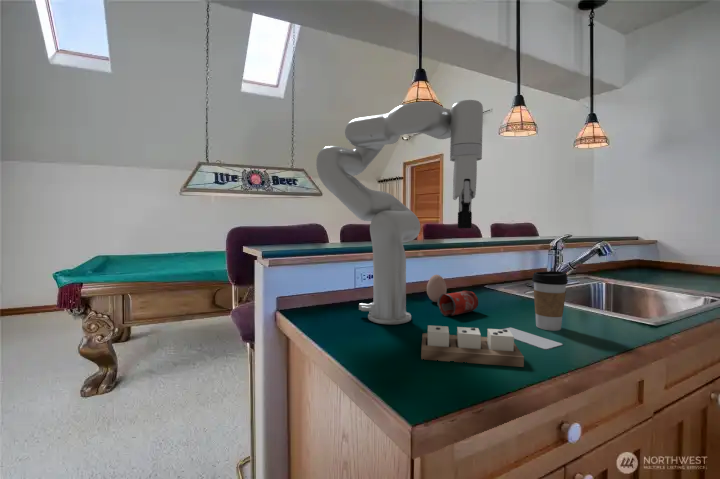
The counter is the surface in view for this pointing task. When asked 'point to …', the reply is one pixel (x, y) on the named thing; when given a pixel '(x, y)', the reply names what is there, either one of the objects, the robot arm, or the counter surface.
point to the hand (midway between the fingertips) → (464, 228)
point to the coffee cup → (549, 298)
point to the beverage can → (457, 303)
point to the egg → (436, 287)
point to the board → (471, 353)
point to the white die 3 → (500, 340)
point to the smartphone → (533, 339)
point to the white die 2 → (468, 338)
